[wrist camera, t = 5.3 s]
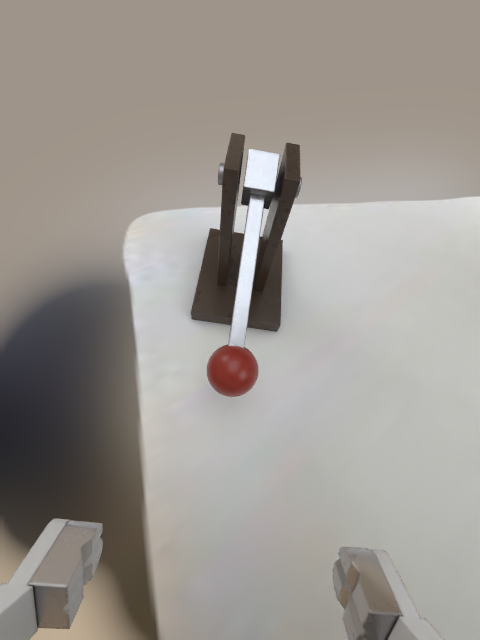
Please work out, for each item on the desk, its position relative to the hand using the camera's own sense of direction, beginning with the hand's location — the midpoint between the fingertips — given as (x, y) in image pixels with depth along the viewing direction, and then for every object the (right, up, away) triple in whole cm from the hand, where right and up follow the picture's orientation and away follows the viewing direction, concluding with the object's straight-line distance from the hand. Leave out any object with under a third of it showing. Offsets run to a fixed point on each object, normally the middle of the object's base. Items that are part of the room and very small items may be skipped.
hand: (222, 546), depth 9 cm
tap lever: (+1, +11, +11) cm, 16 cm away
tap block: (+1, +12, +21) cm, 24 cm away
